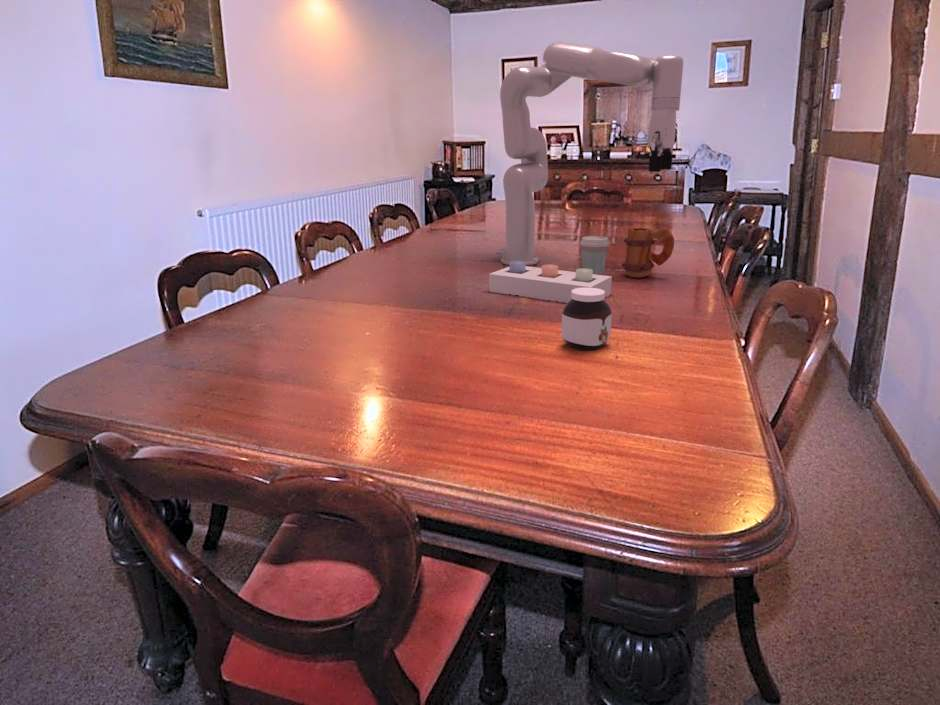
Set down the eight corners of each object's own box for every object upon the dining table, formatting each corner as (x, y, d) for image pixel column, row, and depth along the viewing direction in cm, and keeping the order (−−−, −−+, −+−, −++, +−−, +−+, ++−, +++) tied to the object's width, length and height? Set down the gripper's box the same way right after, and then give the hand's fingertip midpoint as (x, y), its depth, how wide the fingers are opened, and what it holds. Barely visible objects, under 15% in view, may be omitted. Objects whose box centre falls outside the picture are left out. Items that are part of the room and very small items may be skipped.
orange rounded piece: (538, 284, 179) (538, 266, 177) (545, 281, 182) (546, 263, 180) (553, 286, 176) (553, 268, 175) (560, 283, 180) (560, 265, 178)
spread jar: (581, 355, 133) (584, 299, 129) (543, 341, 141) (545, 288, 137) (621, 343, 139) (625, 289, 135) (583, 330, 148) (585, 279, 144)
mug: (617, 277, 197) (620, 227, 192) (624, 272, 203) (628, 223, 198) (667, 282, 190) (672, 230, 185) (673, 276, 197) (678, 226, 192)
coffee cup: (607, 281, 192) (609, 240, 188) (577, 280, 193) (579, 240, 189) (607, 275, 200) (609, 235, 196) (579, 274, 201) (580, 235, 197)
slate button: (506, 280, 184) (506, 262, 182) (514, 277, 187) (514, 260, 186) (520, 282, 181) (520, 264, 180) (527, 279, 185) (528, 261, 183)
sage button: (572, 289, 173) (573, 270, 172) (579, 286, 177) (580, 267, 175) (587, 291, 171) (588, 272, 169) (594, 287, 174) (595, 269, 173)
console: (489, 291, 182) (489, 273, 181) (514, 281, 193) (514, 264, 192) (589, 306, 167) (590, 287, 165) (610, 294, 178) (611, 276, 176)
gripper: (661, 106, 188) (656, 168, 194) (641, 105, 174) (636, 172, 180) (688, 105, 184) (682, 168, 190) (669, 104, 171) (663, 172, 176)
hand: (660, 170), depth 185 cm, fingers open, 9 cm apart
